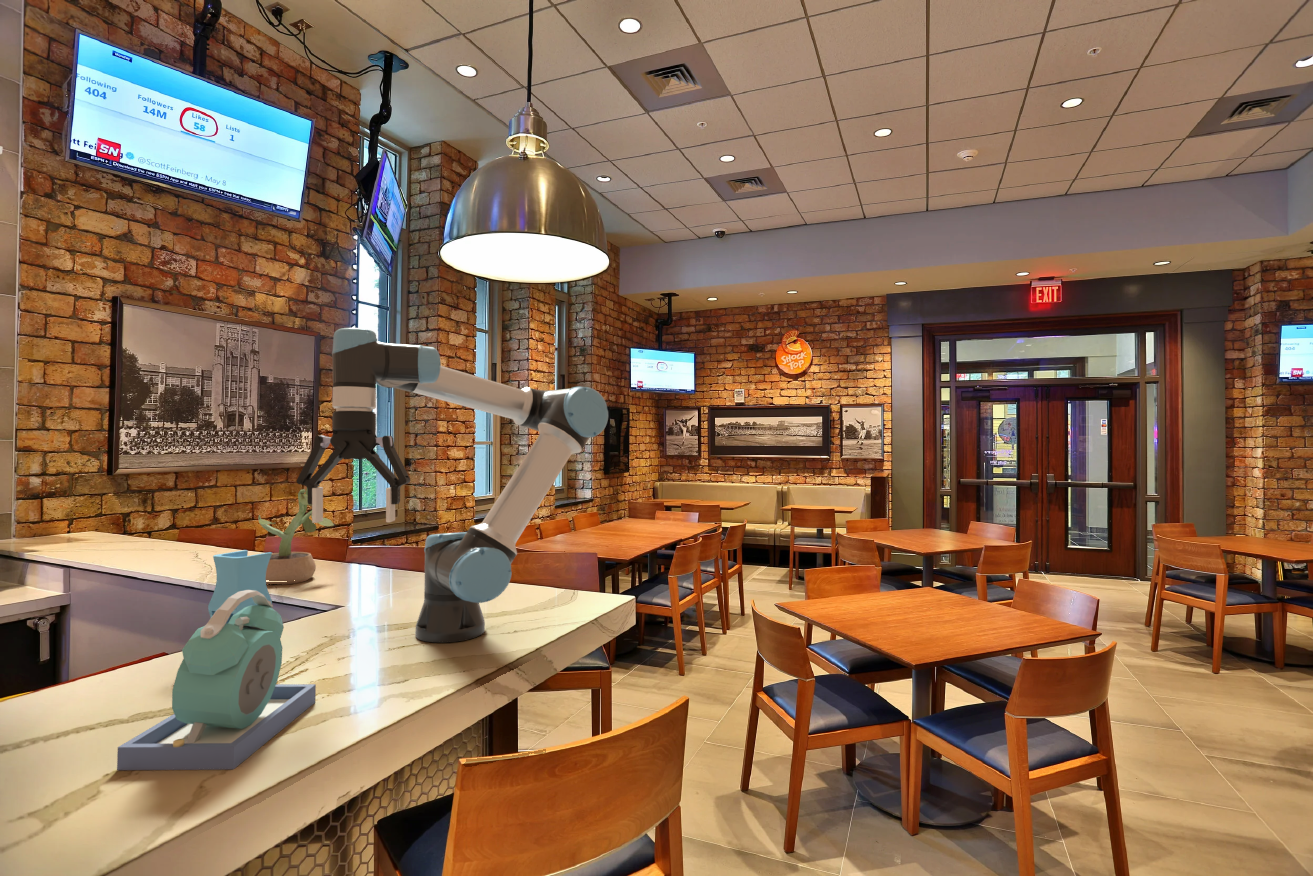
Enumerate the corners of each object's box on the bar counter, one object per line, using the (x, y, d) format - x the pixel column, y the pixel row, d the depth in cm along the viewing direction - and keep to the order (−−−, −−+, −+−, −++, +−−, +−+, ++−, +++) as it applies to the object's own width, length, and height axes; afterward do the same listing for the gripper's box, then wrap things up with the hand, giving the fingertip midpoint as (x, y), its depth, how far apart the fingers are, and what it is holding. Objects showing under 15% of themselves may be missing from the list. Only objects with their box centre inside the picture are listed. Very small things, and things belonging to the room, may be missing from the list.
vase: (270, 646, 135) (272, 552, 135) (235, 658, 127) (237, 558, 128) (243, 642, 138) (245, 549, 138) (207, 653, 130) (209, 555, 130)
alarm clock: (231, 702, 104) (233, 579, 104) (291, 701, 104) (294, 579, 105) (155, 754, 86) (158, 606, 87) (228, 752, 87) (231, 606, 87)
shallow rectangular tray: (315, 702, 107) (316, 680, 107) (233, 769, 85) (233, 742, 85) (223, 702, 106) (224, 680, 106) (116, 770, 84) (117, 743, 84)
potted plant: (237, 586, 190) (239, 485, 190) (274, 574, 208) (276, 482, 208) (311, 588, 189) (313, 486, 189) (343, 575, 207) (344, 483, 207)
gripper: (427, 411, 126) (426, 518, 126) (297, 411, 125) (296, 519, 125) (414, 409, 119) (414, 523, 119) (276, 409, 117) (276, 524, 117)
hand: (354, 521), depth 122 cm, fingers open, 13 cm apart
